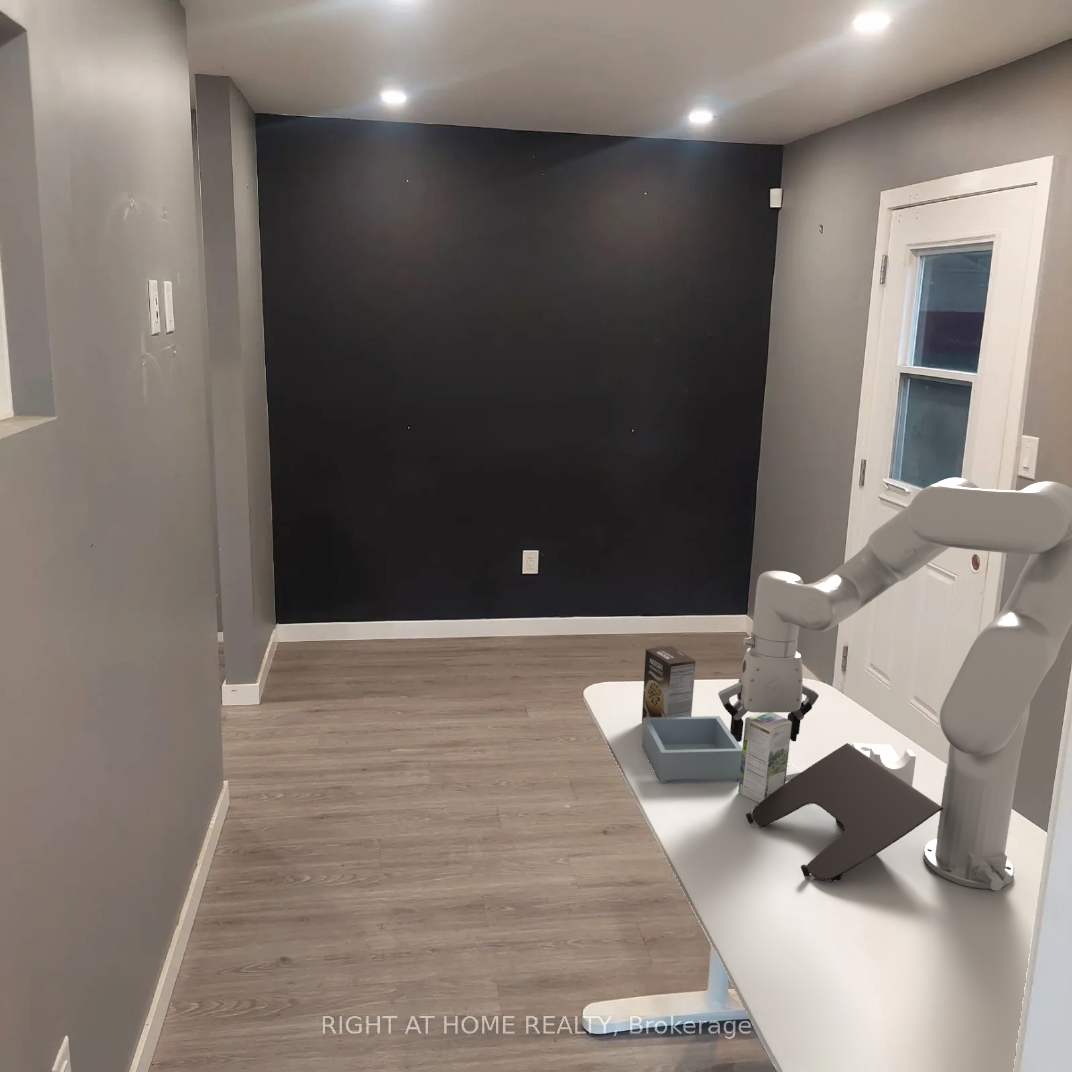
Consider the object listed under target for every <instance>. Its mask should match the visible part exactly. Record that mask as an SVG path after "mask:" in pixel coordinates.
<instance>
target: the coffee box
mask: <svg viewBox="0 0 1072 1072" xmlns="http://www.w3.org/2000/svg"><path fill="white" fill-rule="evenodd" d="M696 662H697V660H696V659H694V658H693V657H690V656H689V655H687V654H685V653H684V652H682V651H680V650H679V649H677V648H675V647H674V646H672V645H669V646H657V647H649V648H646V649H645V657H644V676H643V692H642V693H643V695H642V710H641V711H642V713H641V723H642V724H643V718H648V717H692V714H693V713H692V712H693V701H694V700H693V699H694V686H695V678H696V677H695V676H696V674H695V673H696Z"/></svg>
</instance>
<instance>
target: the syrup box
mask: <svg viewBox="0 0 1072 1072" xmlns="http://www.w3.org/2000/svg"><path fill="white" fill-rule="evenodd" d="M791 726H792V722H791V721H790V720H788V719H787V718H786V717H784V716H782V715H780V714H779V713H777V712H769V713H759V712H757V713H756V714H753V715H750V716H747V717H746V718H745V720H744V727H743V737H742V747H743V748H742V759H741V769H740V779H739V782H738V793H739V794H740V795H743V796H744V797H747V798H748V799H750V800H752V801H754V802H756V803H758V804H759V803H760V802H762V801H763V800H764V799H765V798H767V797H768V796H769V795H770V794H772V793H773V792H774V791H776V790H777V789H778V788H780V787H781V786H783V785H784V784H785V783H786V781H787V779H786V772H787V763H788V762H789V752H790V744H791V739H790V736H791Z"/></svg>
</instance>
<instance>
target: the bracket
mask: <svg viewBox="0 0 1072 1072" xmlns="http://www.w3.org/2000/svg"><path fill="white" fill-rule="evenodd" d="M851 746H853V747H854V748H856V749H857V750H859V751H860V752H862V753H863V754H865V755H866V756H868V757H869V758H870V759H872V760H873V761H875V762H876V763H878V764H879V765H881V766H882V767H884V768H885V769H887V770H888V771H890V772H891V773H893V774H894V775H896V776H897V777H898V778H900V779H901V780H903V781H904V782H906V783H907V784H909V785H910V786H912V787H913V782H914V776H915V775H914V774H915V767H916V760H917V759H916V758H917V756H916V754H915V753H914V751H913V750H912V749H905V750H904V753H903V755H902V757H899V755H898V754H897V752H896V751H895V750H894V748H893V747H892V745H891V744H882V743H879V744H878V743H862V742H861V743H859V742H852V743H851Z"/></svg>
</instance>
